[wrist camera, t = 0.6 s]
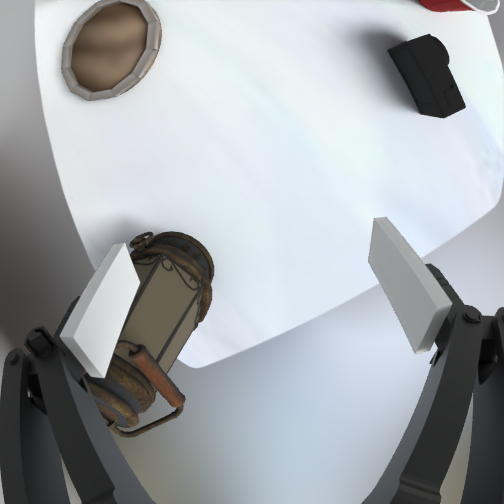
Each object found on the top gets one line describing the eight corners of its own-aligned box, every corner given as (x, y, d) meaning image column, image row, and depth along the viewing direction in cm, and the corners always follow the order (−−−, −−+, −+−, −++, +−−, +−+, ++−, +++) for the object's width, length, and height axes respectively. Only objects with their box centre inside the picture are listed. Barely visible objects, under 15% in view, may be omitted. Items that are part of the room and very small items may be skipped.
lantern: (120, 229, 46) (5, 354, 20) (196, 204, 42) (84, 360, 16) (164, 311, 54) (102, 445, 28) (236, 300, 50) (197, 464, 24)
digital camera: (447, 102, 29) (473, 105, 23) (421, 115, 31) (444, 119, 25) (414, 39, 26) (436, 31, 20) (386, 50, 28) (405, 41, 22)
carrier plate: (75, 14, 27) (67, 13, 25) (167, -11, 25) (161, -16, 24) (68, 105, 35) (60, 106, 33) (158, 92, 34) (151, 92, 32)
